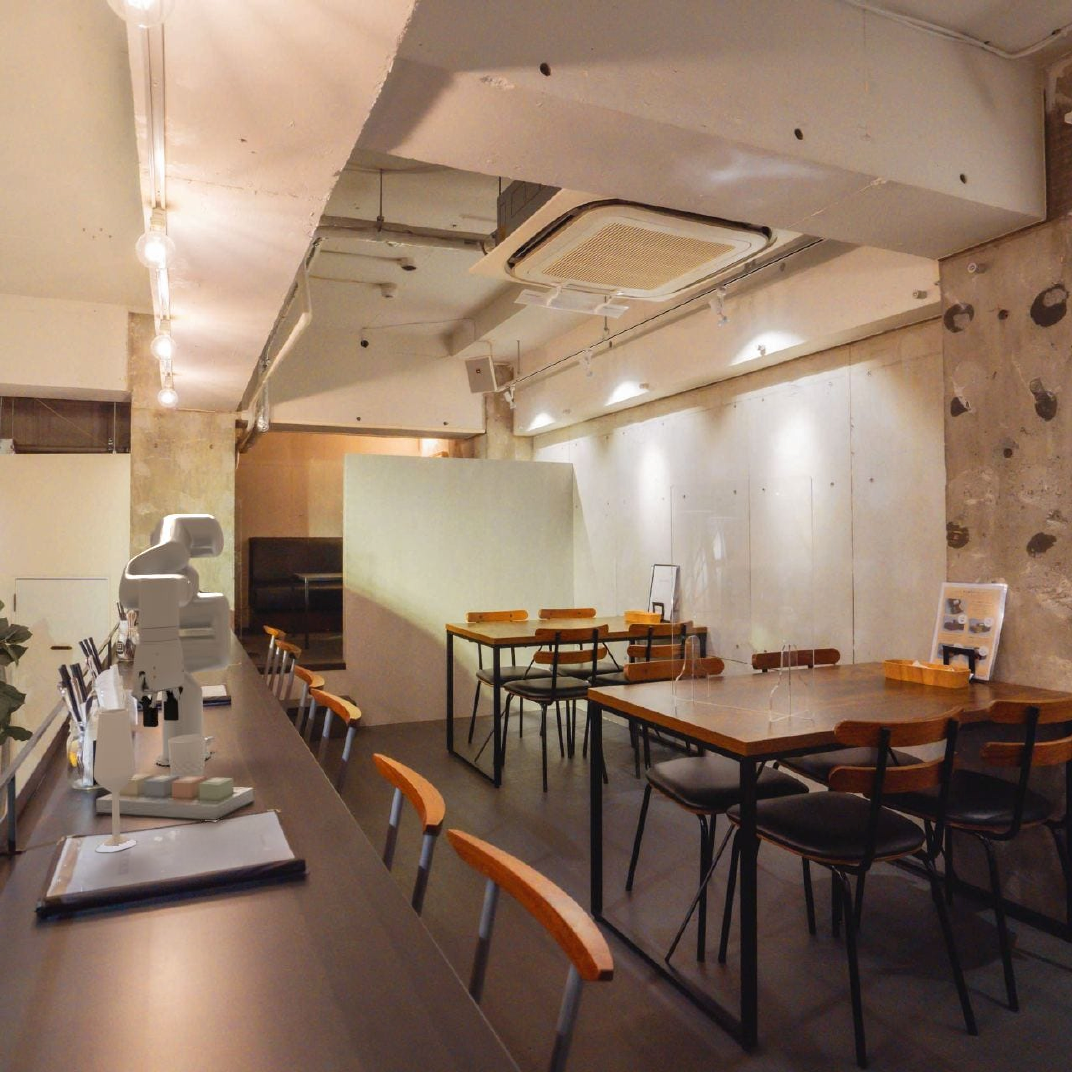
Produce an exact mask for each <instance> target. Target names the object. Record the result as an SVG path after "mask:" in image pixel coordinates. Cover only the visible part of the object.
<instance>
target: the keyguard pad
mask: <svg viewBox="0 0 1072 1072" xmlns="http://www.w3.org/2000/svg"><path fill="white" fill-rule="evenodd" d="M95 803H96V804H95V805H96V815H103V816H112V792H110V793H109V794H105V795H103V796H101V797H98V798H96V801H95ZM253 803H254V788H253V787H241V786H233V795H231V796H229V797H227V798H225V799H223V800H220V801H213V800H200V796H198V797H195V798H193V799H179V798H172V794H171V795H169V796H167V797H164V798H162V797H145V793H143V794H141V795H139V796H129V795H119V814H120V817H130V818H133V817H134V818H135V817H136V818H147V819H148V818H149V819H159V820H160V819H161V820H174V821H175V820H176V821H190V822H191V821H193V822H205V820H218V819H221V818H223V819H225V818H226V817H229V816H231V815H232V814H234V813H236V812H238V811H240V810H242V809H244V808H246V807H247V806H249V805H252V804H253ZM224 817H225V818H224ZM221 820H222V819H221Z"/></svg>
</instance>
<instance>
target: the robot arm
mask: <svg viewBox="0 0 1072 1072" xmlns="http://www.w3.org/2000/svg"><path fill="white" fill-rule="evenodd" d="M224 537H225V536H224V533H223V530H222V526H221V525H220V522H219V521H218V519H217V518H216V517H215V516H212V515H210V514H198V513H197V514H196V513H195V514H170V515H165V516H164V517H162V518H160V519H159V520H158V521H157V523H156V525H155V529H153V530H152V531H151V533H150V536H149V543H150V548H148V549H146V550H144V551H143V552H141V553H139V554H137V555H136V556H134V557H133V558H131V560H129V561H128V562H127V563H126V565H125V567H124V568H123V570H122V574H121V577H120V582H119V586H118V599H119V603H120V604H121V605H120V606H122V607H123V608H124V609H126V610H128V611H138V635H139V636H138V638H139V639H138V640H139V641H138V642H139V643H137V644H136V646H135V652H134V655H133V656H134V657H133V659H134V660H133V668H132V690H131V693H130V696H132V697H133V699H135V700H136V701H137V703H139V707H140V708H141V709H142V726H143V727H144V728H157V727H159V707H158V706H156V704H157V699H158V695H159V694H158V693H161V718H162V719H161V722H162V723H161V724H162V728H161V729H162V731H161V732H162V754H160V755H158V756H157V757H156V759H155V762H156V764H157V763H158V765H159V764H161V765H160V766H167V765H170V763H169V749H168V740H169V739H171V738H173V737H177V736H182V735H191V734H201V735H204V703H203V700H204V698H203V696H204V695H203V689H202V686H201V684H200V682H198V680H197V679H196V678H195V677H194V676H193V675H192V674H195V673H201V672H202V673H203V672H204V673H205V672H215V671H223V670H225V669H227V668H228V667H229V666H230V664H231V659H232V629H231V628H232V626H231V624H232V623H231V621H232V620H231V607H230V601H229V599H228V597H227V595H225V594H224V593H220V592H204V593H203V592H200V575H199V572H198V571H197V570H196V568H195V567H194V566H193V565H192V564H191V563H190V559H199V558H200V559H201V558H203V559H204V558H208V559H209V558H216V557H219V556H220V555H221V554H222V552H223V550H224V546H225V538H224ZM198 630H200V631H201V630H209V631H211V632H212V634H198V635H197V634H189V635H180V631H198ZM149 696H150V698H149ZM213 743H215V737H214V736H212V735H210V736H208V737H205V760H207V759H209V758H210V757H211V751H210V750H208V749H206V747H207V746H209V745H211V744H213ZM206 758H207V759H206Z"/></svg>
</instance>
